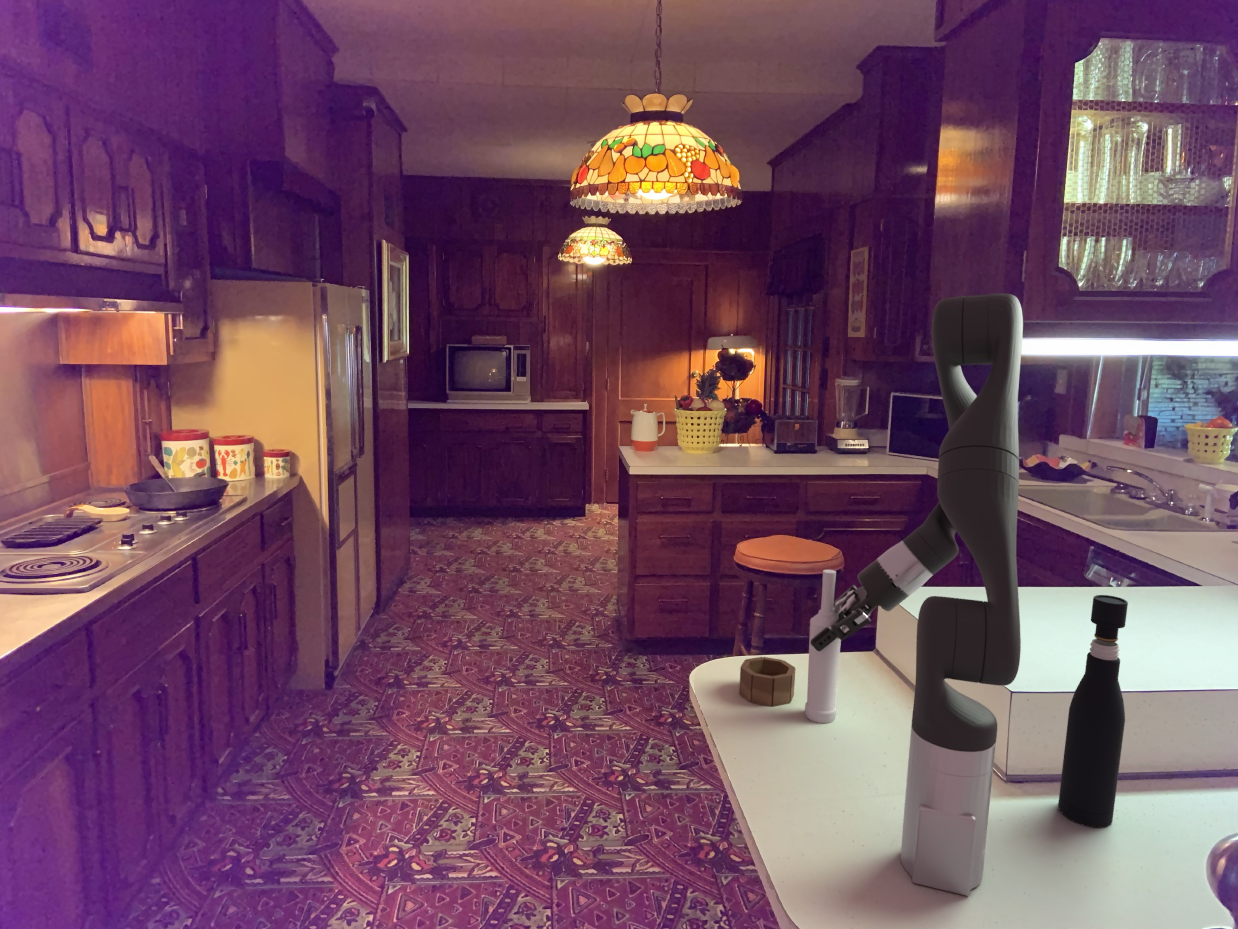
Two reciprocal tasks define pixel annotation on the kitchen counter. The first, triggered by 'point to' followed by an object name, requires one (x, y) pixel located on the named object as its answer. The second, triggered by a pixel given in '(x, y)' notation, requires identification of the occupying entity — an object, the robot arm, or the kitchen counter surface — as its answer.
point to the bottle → (823, 660)
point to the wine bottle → (1095, 724)
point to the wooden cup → (767, 681)
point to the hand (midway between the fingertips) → (813, 640)
